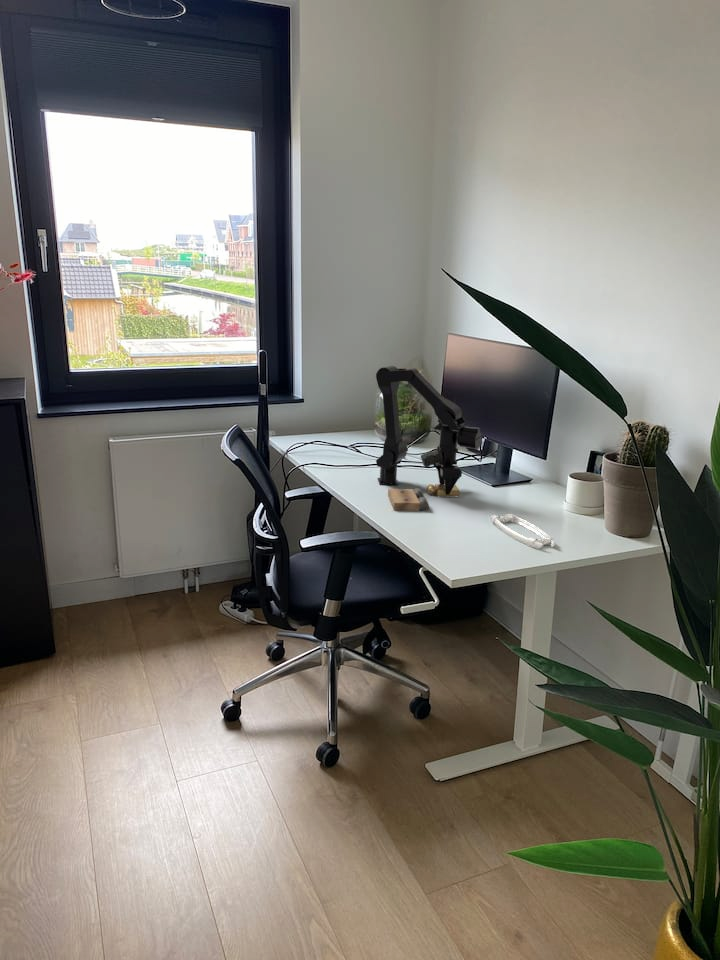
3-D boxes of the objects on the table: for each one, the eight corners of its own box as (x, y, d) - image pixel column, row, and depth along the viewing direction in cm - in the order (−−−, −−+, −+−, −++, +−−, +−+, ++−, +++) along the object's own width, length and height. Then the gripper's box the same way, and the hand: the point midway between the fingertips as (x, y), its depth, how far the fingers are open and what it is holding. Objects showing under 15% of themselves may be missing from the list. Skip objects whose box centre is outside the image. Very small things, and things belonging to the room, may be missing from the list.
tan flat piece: (393, 510, 221) (394, 501, 220) (387, 495, 234) (388, 487, 233) (428, 510, 222) (429, 501, 221) (420, 496, 235) (421, 488, 234)
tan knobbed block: (454, 491, 242) (455, 483, 242) (458, 497, 237) (459, 489, 236) (425, 491, 241) (426, 483, 240) (429, 496, 236) (429, 488, 235)
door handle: (532, 553, 194) (483, 521, 216) (562, 549, 197) (511, 518, 219) (533, 544, 193) (484, 513, 215) (564, 540, 196) (512, 510, 218)
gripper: (418, 437, 242) (415, 481, 247) (428, 451, 224) (425, 499, 229) (451, 437, 243) (447, 482, 248) (464, 451, 226) (459, 499, 230)
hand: (444, 490), depth 239 cm, fingers open, 9 cm apart
